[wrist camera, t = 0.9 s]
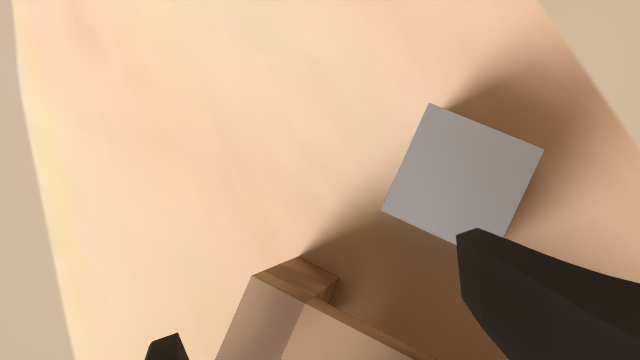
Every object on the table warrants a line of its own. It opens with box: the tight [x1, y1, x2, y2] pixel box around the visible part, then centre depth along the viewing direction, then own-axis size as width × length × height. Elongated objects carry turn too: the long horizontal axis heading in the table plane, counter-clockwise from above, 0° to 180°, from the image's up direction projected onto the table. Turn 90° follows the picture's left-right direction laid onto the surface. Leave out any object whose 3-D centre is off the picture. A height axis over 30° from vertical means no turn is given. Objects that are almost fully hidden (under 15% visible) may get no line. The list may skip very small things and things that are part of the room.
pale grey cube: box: [381, 103, 545, 245], centre depth 25 cm, size 5×5×5 cm
